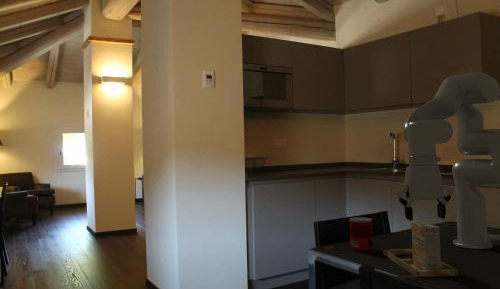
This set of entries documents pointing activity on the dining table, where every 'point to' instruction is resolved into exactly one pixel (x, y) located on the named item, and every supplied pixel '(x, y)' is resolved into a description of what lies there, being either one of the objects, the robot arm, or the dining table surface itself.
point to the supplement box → (426, 246)
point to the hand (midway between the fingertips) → (425, 218)
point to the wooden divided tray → (415, 270)
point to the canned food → (361, 234)
